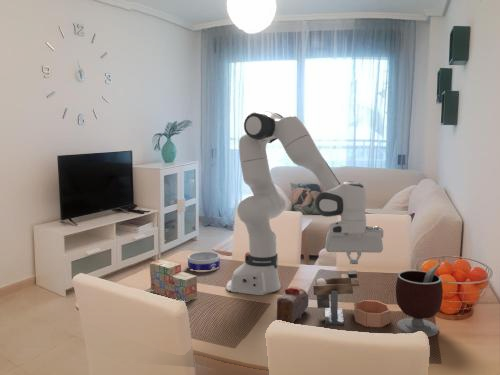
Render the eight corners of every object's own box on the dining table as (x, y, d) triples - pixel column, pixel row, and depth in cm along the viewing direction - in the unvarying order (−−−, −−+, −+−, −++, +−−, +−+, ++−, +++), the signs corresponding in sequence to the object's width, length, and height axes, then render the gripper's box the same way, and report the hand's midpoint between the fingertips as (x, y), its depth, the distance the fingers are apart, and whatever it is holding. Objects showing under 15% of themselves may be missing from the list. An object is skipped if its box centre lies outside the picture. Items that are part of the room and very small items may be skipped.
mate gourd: (417, 341, 127) (419, 277, 124) (385, 323, 139) (386, 264, 137) (454, 331, 133) (457, 270, 131) (421, 314, 146) (422, 258, 143)
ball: (317, 291, 143) (314, 281, 142) (317, 287, 146) (314, 277, 146) (327, 289, 142) (325, 279, 142) (327, 286, 146) (325, 276, 145)
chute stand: (325, 324, 140) (325, 291, 138) (325, 310, 151) (325, 279, 149) (343, 325, 139) (344, 291, 137) (342, 311, 150) (342, 280, 148)
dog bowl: (206, 275, 192) (206, 262, 191) (181, 269, 201) (180, 257, 200) (226, 266, 205) (225, 254, 204) (201, 261, 213) (201, 249, 212)
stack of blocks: (197, 298, 164) (196, 268, 162) (185, 304, 159) (184, 272, 158) (162, 287, 178) (161, 258, 176) (150, 291, 173) (149, 262, 171)
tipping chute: (315, 309, 142) (313, 285, 141) (316, 290, 159) (314, 269, 159) (361, 307, 139) (360, 283, 138) (357, 288, 157) (355, 267, 156)
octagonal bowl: (355, 325, 138) (356, 312, 137) (353, 311, 149) (353, 299, 148) (391, 327, 136) (391, 314, 136) (386, 313, 147) (386, 301, 147)
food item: (289, 306, 155) (289, 280, 154) (310, 310, 151) (310, 283, 150) (274, 321, 143) (274, 293, 142) (296, 325, 139) (296, 297, 138)
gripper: (382, 224, 153) (382, 261, 155) (325, 224, 157) (325, 260, 158) (384, 228, 147) (384, 266, 149) (325, 228, 151) (325, 265, 152)
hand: (353, 263), depth 154 cm, fingers closed
